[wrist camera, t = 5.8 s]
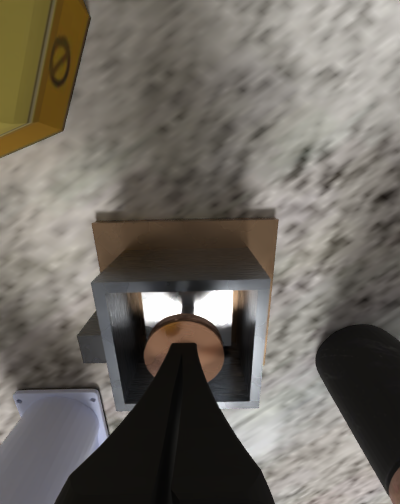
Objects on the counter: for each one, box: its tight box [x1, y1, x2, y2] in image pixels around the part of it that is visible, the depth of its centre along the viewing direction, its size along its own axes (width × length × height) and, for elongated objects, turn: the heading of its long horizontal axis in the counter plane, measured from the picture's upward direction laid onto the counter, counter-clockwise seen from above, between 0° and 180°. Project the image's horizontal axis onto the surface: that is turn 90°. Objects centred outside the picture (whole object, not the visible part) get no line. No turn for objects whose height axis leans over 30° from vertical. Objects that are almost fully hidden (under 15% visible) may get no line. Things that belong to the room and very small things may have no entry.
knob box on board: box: [77, 218, 278, 411], centre depth 15 cm, size 13×13×6 cm
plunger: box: [141, 291, 233, 382], centre depth 14 cm, size 7×7×5 cm
